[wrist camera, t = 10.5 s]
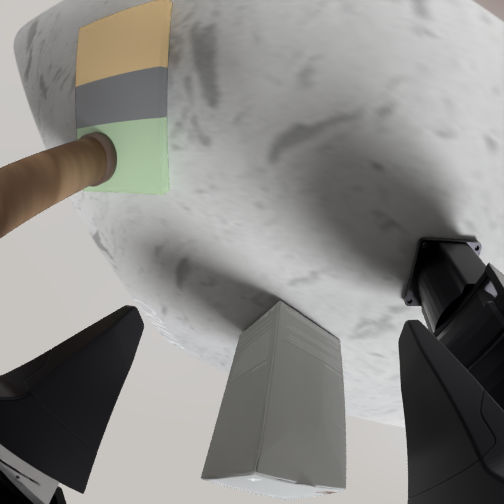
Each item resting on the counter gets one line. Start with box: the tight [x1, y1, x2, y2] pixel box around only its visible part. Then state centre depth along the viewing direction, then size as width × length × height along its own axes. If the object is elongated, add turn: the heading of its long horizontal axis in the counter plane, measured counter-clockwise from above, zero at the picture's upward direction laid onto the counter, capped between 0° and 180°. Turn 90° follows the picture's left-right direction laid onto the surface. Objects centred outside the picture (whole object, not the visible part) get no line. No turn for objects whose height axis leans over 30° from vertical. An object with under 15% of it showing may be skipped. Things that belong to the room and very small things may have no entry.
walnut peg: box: [0, 132, 117, 238], centre depth 14 cm, size 5×5×13 cm
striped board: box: [75, 0, 172, 195], centre depth 17 cm, size 16×9×1 cm, turn 178°
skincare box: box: [201, 301, 346, 500], centre depth 19 cm, size 8×7×16 cm
